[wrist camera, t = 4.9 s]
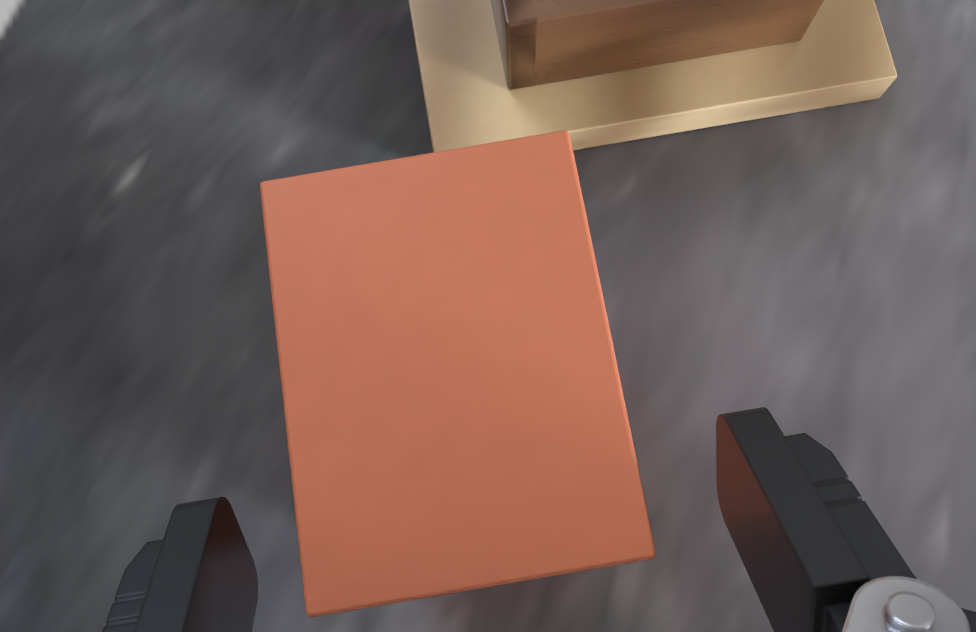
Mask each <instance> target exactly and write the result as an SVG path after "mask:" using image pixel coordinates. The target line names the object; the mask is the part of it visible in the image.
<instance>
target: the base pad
mask: <svg viewBox="0 0 976 632" xmlns="http://www.w3.org/2000/svg"><path fill="white" fill-rule="evenodd" d="M408 1H409V7H410V14H411V20H412V26H413V32H414V38H415V44H416V50H417V57H418V63H419V69H420V75H421V81H422V87H423V93H424V100H425V106H426V112H427V118H428V124H429V130H430V136H431V143H432V149H433V152H439V151H445V150H451V149H457V148H462V147H468V146H474V145H480V144H486V143H492V142H498V141H504V140H510V139H515V138H521V137H527V136H533V135H539V134H545V133H551V132H557V131H562V130H567V131H568V132H569V134H570V139H571V143H572V148H573V150H578V149H583V148H589V147H595V146H601V145H607V144H613V143H619V142H625V141H630V140H636V139H642V138H648V137H654V136H660V135H666V134H672V133H677V132H683V131H689V130H695V129H701V128H707V127H713V126H719V125H724V124H730V123H736V122H742V121H748V120H754V119H760V118H766V117H771V116H777V115H783V114H789V113H795V112H801V111H807V110H813V109H818V108H824V107H830V106H836V105H842V104H848V103H854V102H860V101H865V100H871V99H877V98H880V96H881V95H882V94H883V93H884V92H885V91H886V89H887V88H888V87H889V86H890V85H891V83H892V82H893V81H894V80H895V79H896V78H897V72H896V69H895V66H894V63H893V60H892V56H891V53H890V50H889V47H888V44H887V40H886V37H885V34H884V31H883V28H882V24H881V21H880V18H879V15H878V11H877V8H876V5H875V2H874V0H408Z"/></svg>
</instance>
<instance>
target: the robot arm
mask: <svg viewBox="0 0 976 632" xmlns="http://www.w3.org/2000/svg"><path fill="white" fill-rule="evenodd" d="M716 454H717V493H718V499H719V504H720V508H721V512H722V515H723V518H724V521H725V524H726V526H727V528H728V530H729V533H730V535H731V537H732V539H733V541H734V544H735V546H736V548H737V550H738V553H739V555H740V557H741V559H742V561H743V564H744V566H745V568H746V570H747V573H748V575H749V577H750V579H751V581H752V584H753V586H754V588H755V590H756V592H757V595H758V597H759V599H760V601H761V604H762V606H763V608H764V610H765V612H766V615H767V617H768V619H769V621H770V624H771V626H772V628H773V630H774V632H976V612H973V611H969V610H966V609H963V608H961V607H960V606H959V605H958V604H957V603H956V602H955V600H954V599H952V598H951V597H950V596H949V595H948V594H946V593H945V592H943V591H942V590H940V589H939V588H937V587H935V586H933V585H931V584H929V583H927V582H924V581H921V580H918V579H917V578H916V577H915V576H914V574H913V573H912V572H911V570H910V569H909V567H908V566H907V564H906V563H905V561H904V560H903V558H902V557H901V555H900V554H899V552H898V551H897V549H896V548H895V546H894V545H893V543H892V542H891V540H890V539H889V537H888V536H887V534H886V533H885V531H884V530H883V528H882V527H881V525H880V524H879V522H878V521H877V519H876V518H875V516H874V515H873V513H872V512H871V510H870V509H869V507H868V506H867V504H866V503H865V501H862V499H861V495H860V494H859V492H858V491H857V489H856V488H855V486H854V485H853V483H852V482H851V481H849V480H848V476H847V474H846V473H845V471H844V470H843V468H842V467H841V465H840V464H839V462H838V461H837V459H836V458H835V456H834V455H833V453H832V452H831V451H830V450H828V449H827V448H825V447H824V446H823V445H821V444H820V443H818V442H817V441H815V440H814V439H813V438H811V437H810V436H808V435H807V434H805V433H802V434H796V435H790V436H784V435H783V433H782V431H781V430H780V428H779V426H778V425H777V423H776V421H775V420H774V418H773V417H772V415H771V413H770V412H769V411H768V409H766V408H765V407H762V408H756V409H750V410H744V411H738V412H732V413H726V414H720V415H719V416H718V417H717V423H716ZM257 599H258V580H257V572H256V567H255V564H254V561H253V558H252V556H251V553H250V551H249V548H248V546H247V543H246V541H245V539H244V536H243V534H242V531H241V529H240V526H239V524H238V522H237V519H236V517H235V514H234V512H233V509H232V507H231V505H230V503H229V501H228V500H227V499H226V498H225V497H219V498H213V499H207V500H201V501H195V502H189V503H183V504H178V505H177V506H176V507H175V508H174V509H173V512H172V514H171V517H170V521H169V524H168V527H167V530H166V533H165V536H164V539H163V540H158V541H152V542H147V543H146V544H145V545H144V547H143V548H142V549H141V550H140V551H139V553H138V554H137V555H136V556H135V558H134V559H133V560H132V561H131V563H130V564H129V565H128V566H127V568H126V569H125V571H124V573H123V576H122V579H121V582H120V584H119V587H118V590H117V593H116V595H115V603H113V604H112V607H111V609H110V612H109V615H108V618H107V620H106V622H107V626H106V627H104V629H103V631H102V632H252V627H253V622H254V616H255V611H256V605H257Z"/></svg>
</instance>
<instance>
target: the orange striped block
mask: <svg viewBox="0 0 976 632" xmlns="http://www.w3.org/2000/svg"><path fill="white" fill-rule="evenodd" d="M260 193H261V202H262V212H263V221H264V230H265V239H266V248H267V257H268V267H269V276H270V285H271V294H272V303H273V313H274V322H275V331H276V340H277V349H278V359H279V368H280V377H281V386H282V395H283V405H284V414H285V423H286V432H287V441H288V451H289V460H290V469H291V478H292V487H293V497H294V506H295V515H296V524H297V533H298V543H299V552H300V561H301V570H302V579H303V589H304V598H305V607H306V613H307V615H308V616H309V617H316V616H322V615H328V614H334V613H340V612H346V611H351V610H357V609H363V608H369V607H375V606H381V605H386V604H392V603H398V602H404V601H410V600H416V599H421V598H427V597H433V596H439V595H445V594H451V593H456V592H462V591H468V590H474V589H480V588H486V587H492V586H497V585H503V584H509V583H515V582H521V581H527V580H532V579H538V578H544V577H550V576H556V575H562V574H567V573H573V572H579V571H585V570H591V569H597V568H603V567H608V566H614V565H620V564H626V563H632V562H638V561H643V560H649V559H652V558H654V557H655V554H656V552H655V547H654V542H653V537H652V532H651V527H650V523H649V518H648V513H647V508H646V503H645V498H644V493H643V489H642V484H641V479H640V474H639V469H638V464H637V459H636V455H635V450H634V445H633V440H632V435H631V430H630V425H629V421H628V416H627V411H626V406H625V401H624V396H623V391H622V386H621V382H620V377H619V372H618V367H617V362H616V357H615V352H614V348H613V343H612V338H611V333H610V328H609V323H608V318H607V314H606V309H605V304H604V299H603V294H602V289H601V284H600V280H599V275H598V270H597V265H596V260H595V255H594V250H593V245H592V241H591V236H590V231H589V226H588V221H587V216H586V211H585V207H584V202H583V197H582V192H581V187H580V182H579V177H578V173H577V168H576V163H575V158H574V153H573V148H572V143H571V139H570V134H569V132H568V131H567V130H562V131H557V132H551V133H545V134H539V135H533V136H527V137H521V138H515V139H510V140H504V141H498V142H492V143H486V144H480V145H474V146H468V147H462V148H457V149H451V150H445V151H439V152H433V153H427V154H421V155H415V156H410V157H404V158H398V159H392V160H386V161H380V162H374V163H368V164H363V165H357V166H351V167H345V168H339V169H333V170H327V171H321V172H316V173H310V174H304V175H298V176H292V177H286V178H280V179H274V180H269V181H263V182H261V183H260Z"/></svg>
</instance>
